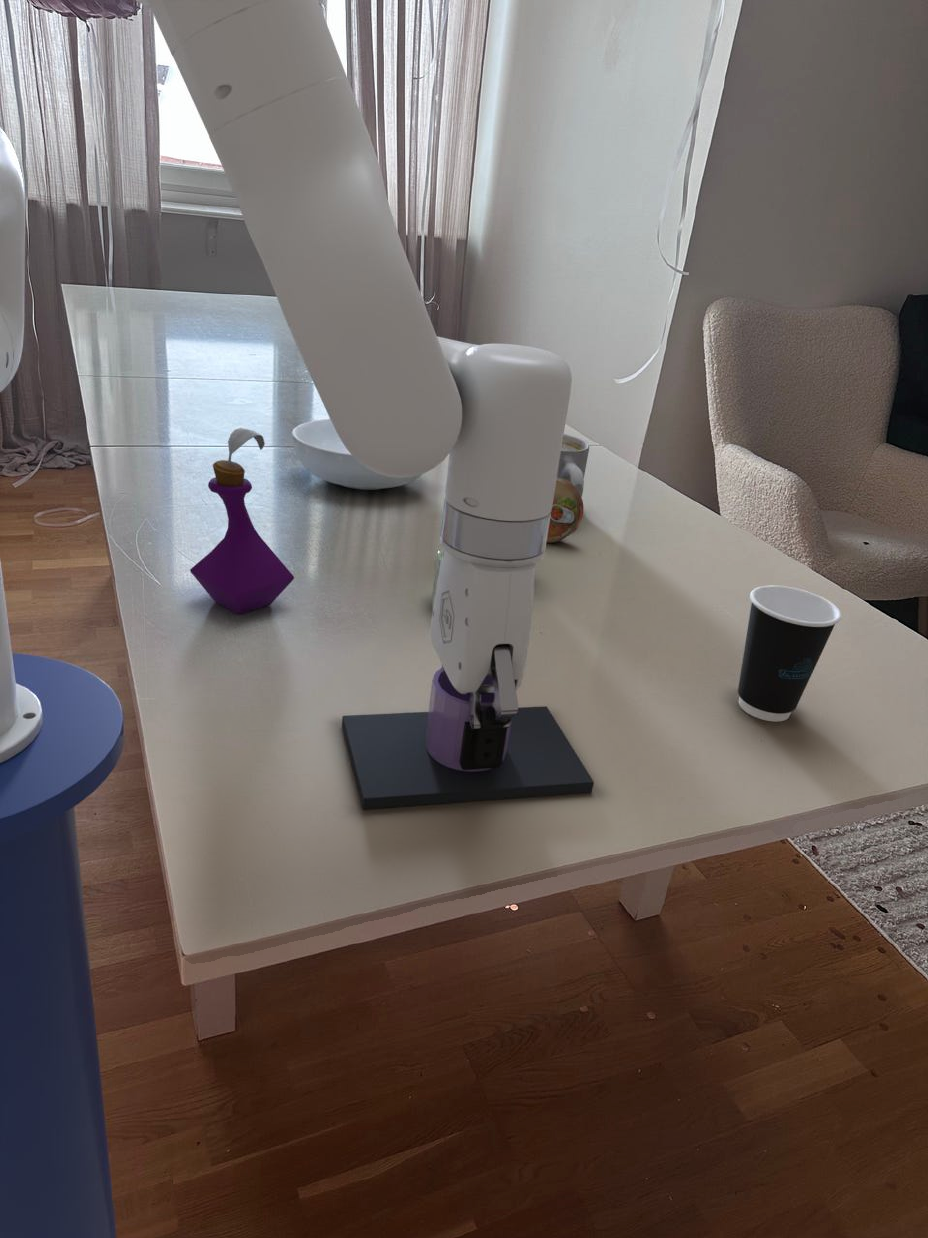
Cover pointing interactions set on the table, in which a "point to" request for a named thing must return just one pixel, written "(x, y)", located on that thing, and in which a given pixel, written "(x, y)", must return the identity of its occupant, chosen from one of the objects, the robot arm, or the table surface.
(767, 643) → the dixie cup
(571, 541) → the table surface
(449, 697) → the lavender cup
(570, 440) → the coffee mug
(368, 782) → the placemat
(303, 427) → the serving bowl
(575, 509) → the tin
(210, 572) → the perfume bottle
